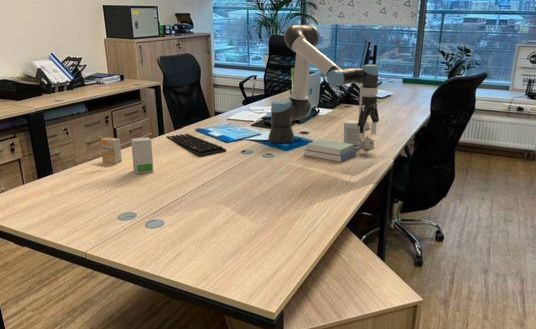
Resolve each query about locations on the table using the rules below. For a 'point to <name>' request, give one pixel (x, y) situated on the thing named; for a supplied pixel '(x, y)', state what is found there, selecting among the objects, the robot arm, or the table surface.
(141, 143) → the skincare box
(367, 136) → the game die
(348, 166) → the table surface
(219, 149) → the computer keyboard
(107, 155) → the supplement box
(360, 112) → the flag stand
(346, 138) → the supplement tub
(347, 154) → the book pile
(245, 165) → the table surface
